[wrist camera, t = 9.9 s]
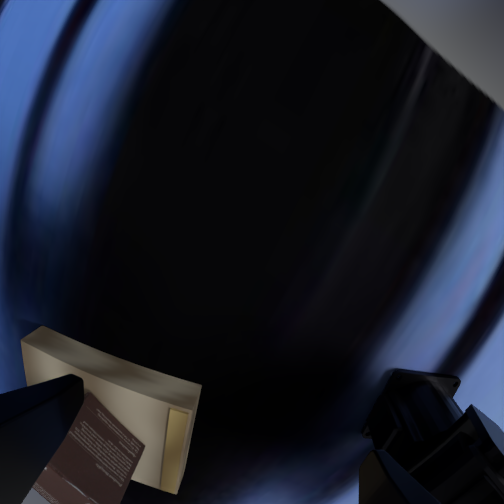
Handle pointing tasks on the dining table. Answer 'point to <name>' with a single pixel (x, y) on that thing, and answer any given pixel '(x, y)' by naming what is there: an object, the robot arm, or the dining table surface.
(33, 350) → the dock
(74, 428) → the box
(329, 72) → the dining table surface
